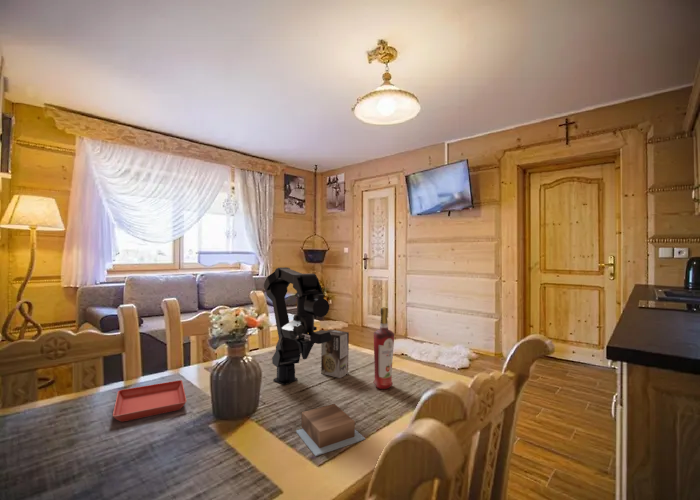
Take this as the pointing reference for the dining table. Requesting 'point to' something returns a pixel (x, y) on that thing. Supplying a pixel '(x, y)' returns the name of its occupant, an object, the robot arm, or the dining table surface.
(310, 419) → the walnut block
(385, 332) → the liquor
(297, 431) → the mat
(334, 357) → the coffee box
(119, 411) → the plant saucer
